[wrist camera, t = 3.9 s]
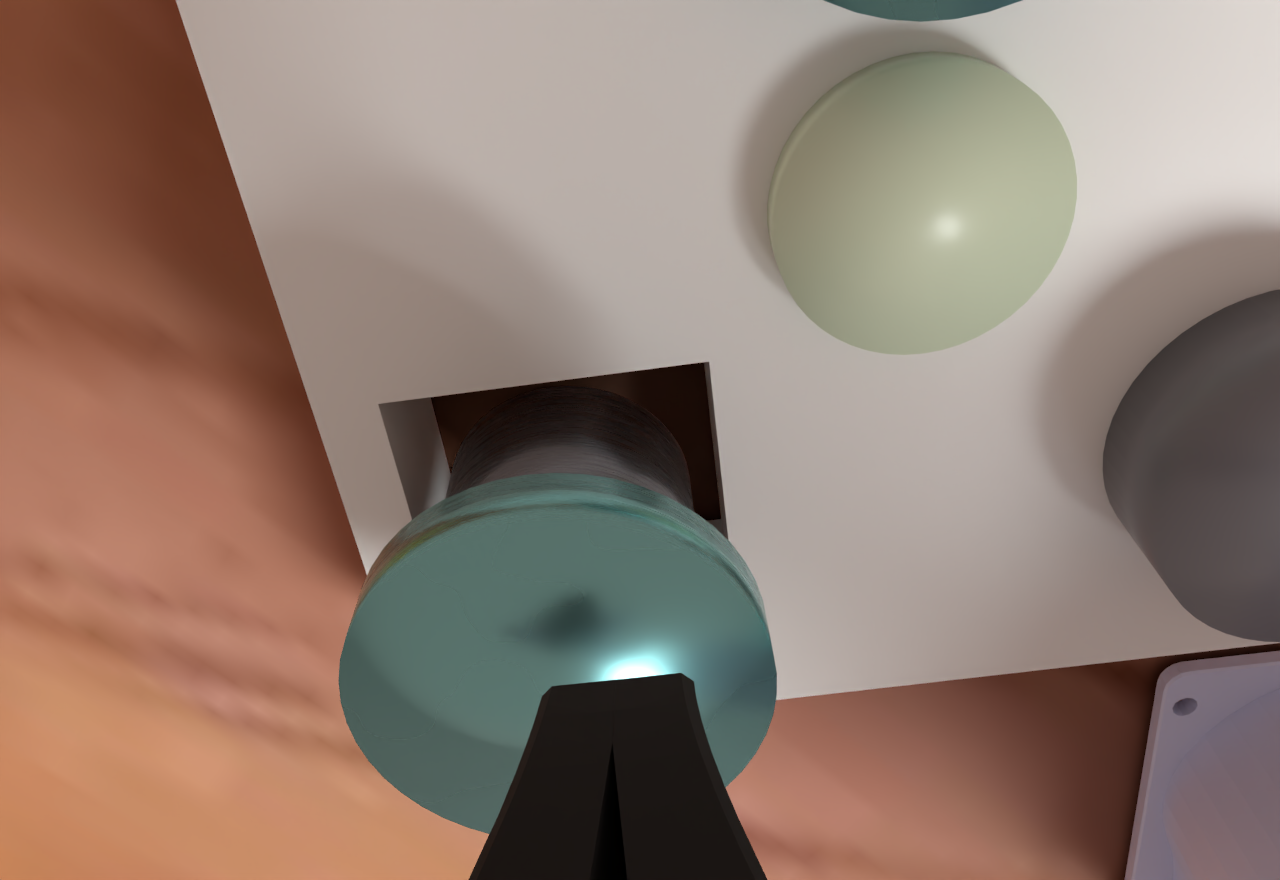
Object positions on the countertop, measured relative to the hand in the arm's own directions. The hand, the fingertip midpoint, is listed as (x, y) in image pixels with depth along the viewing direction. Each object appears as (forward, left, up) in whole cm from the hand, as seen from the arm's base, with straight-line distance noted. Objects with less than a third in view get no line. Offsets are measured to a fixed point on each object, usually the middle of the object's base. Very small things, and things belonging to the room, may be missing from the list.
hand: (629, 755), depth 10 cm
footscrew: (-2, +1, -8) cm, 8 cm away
